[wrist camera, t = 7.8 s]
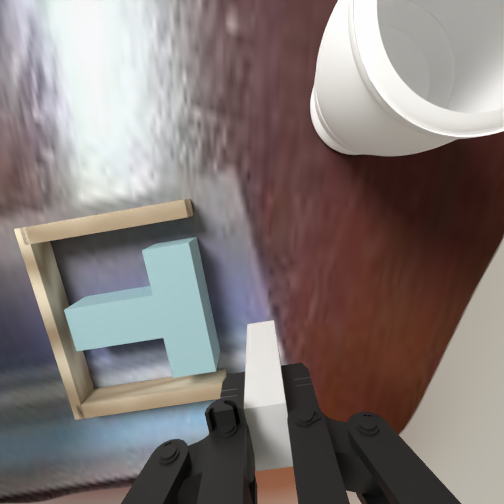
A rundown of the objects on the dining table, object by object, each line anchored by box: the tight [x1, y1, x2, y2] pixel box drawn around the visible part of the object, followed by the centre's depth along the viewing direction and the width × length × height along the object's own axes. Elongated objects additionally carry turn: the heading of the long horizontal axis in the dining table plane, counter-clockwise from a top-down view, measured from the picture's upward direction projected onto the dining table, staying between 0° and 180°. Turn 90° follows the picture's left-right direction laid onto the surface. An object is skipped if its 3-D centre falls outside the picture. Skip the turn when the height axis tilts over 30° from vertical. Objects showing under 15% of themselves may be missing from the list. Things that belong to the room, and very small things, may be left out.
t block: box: [64, 237, 220, 378], centre depth 28 cm, size 12×12×4 cm
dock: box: [14, 199, 227, 420], centre depth 29 cm, size 19×15×2 cm
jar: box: [310, 0, 504, 156], centre depth 19 cm, size 11×10×15 cm
